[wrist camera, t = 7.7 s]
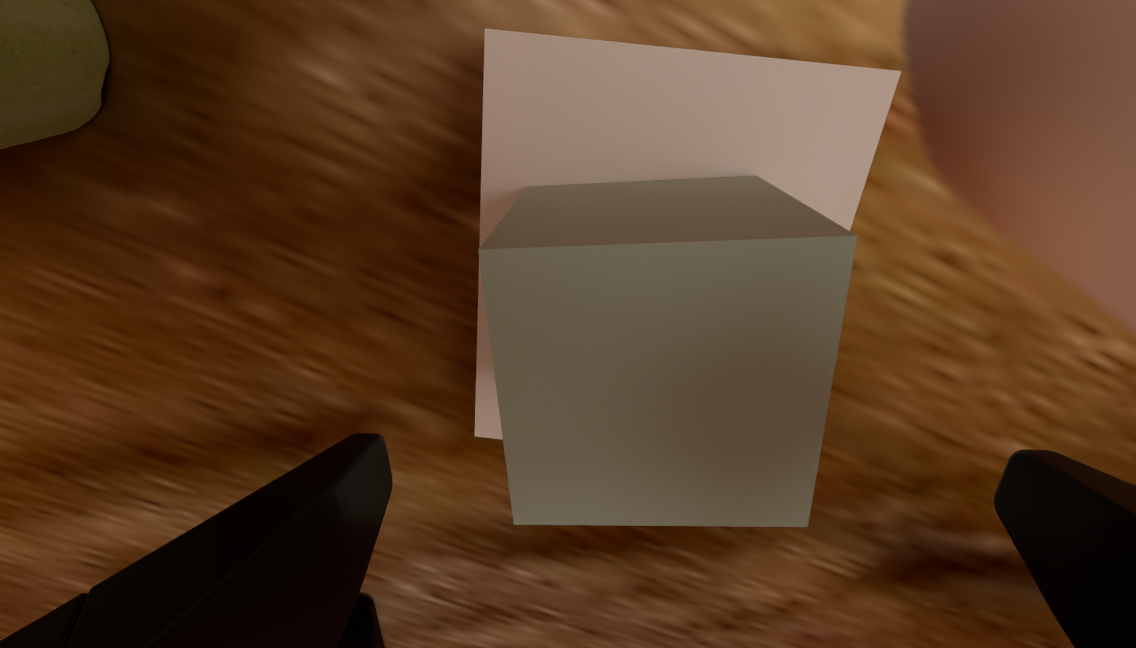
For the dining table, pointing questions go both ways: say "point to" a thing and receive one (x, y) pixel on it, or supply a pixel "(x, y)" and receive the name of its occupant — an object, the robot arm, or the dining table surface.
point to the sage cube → (664, 350)
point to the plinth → (665, 131)
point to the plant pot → (49, 68)
